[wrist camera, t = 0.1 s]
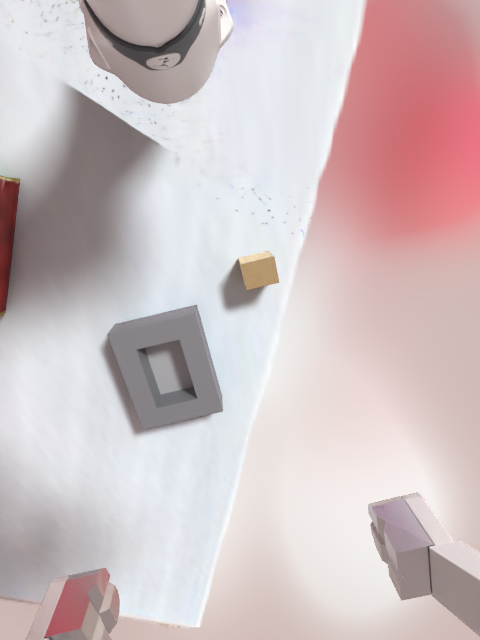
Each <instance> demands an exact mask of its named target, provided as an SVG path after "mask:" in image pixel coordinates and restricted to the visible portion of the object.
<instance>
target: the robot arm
mask: <svg viewBox="0 0 480 640" xmlns="http://www.w3.org/2000/svg"><path fill="white" fill-rule="evenodd" d="M79 4H80V8H81V11H82V12H83V13H84V18H85V25H86V33H87V40H88V47H89V54H90V57H91V59H92V61H93V62H94V64H95V65H97V66H98V67H99V68H101V69H103V70H105V71H108V72H110V73H112V74H115V75H116V76H117V77H118V78H119V79H120V80H121V81H122V82H123V83H124V84H125V85H126V86H127V87H128V88H129V89H131V90H132V91H133V92H134V93H136V94H137V95H139V96H140V97H142V98H144V99H146V100H149V101H152V102H156V103H163V104H170V103H176V102H180V101H183V100H185V99H187V98H189V97H191V96H192V95H194V94H195V93H196V92H198V91H199V90H200V89H201V88H202V86H203V85H204V84H205V83H206V81H207V80H208V78H209V76H210V74H211V72H212V70H213V67H214V64H215V60H216V57H217V54H218V52H219V50H220V48H221V47H222V46H223V45H224V43H225V42H226V41H227V40H228V38H229V37H230V35H231V33H232V30H233V24H232V19H231V16H230V13H229V10H228V7H227V5H226V2H225V0H79ZM220 13H222V14H223V16H222V17H221V18H220ZM368 510H369V514H370V517H371V519H372V521H373V522H372V523H371V530H372V535H373V538H374V542H375V545H376V547H377V549H378V552H379V554H380V556H381V559H382V560H383V561H384V562H386V563H387V564H388V568H389V575H390V578H391V580H392V582H393V584H394V586H395V588H396V590H397V592H398V594H399V596H400V598H401V600H406V599H411V598H416V597H421V596H425V595H431V594H432V596H433V597H434V598H435V599H436V600H438V601H439V602H440V603H441V604H442V605H444V606H445V607H446V608H447V609H448V610H450V611H451V612H452V613H453V614H454V615H455V616H457V617H458V618H459V619H460V620H461V621H462V622H463V623H465V624H466V625H467V626H468V627H469V628H471V629H472V630H473V631H474V632H475V633H476V634H478V635H479V636H480V552H479V551H477V550H475V549H474V548H472V547H470V546H469V545H467V544H465V543H463V542H461V541H460V540H456V541H453V539H452V538H451V536H450V535H449V534H448V532H447V531H446V529H445V528H444V527H443V525H442V524H441V523H440V521H439V520H438V519H437V517H436V516H435V514H434V513H433V511H432V510H431V509H430V507H429V506H428V504H427V503H426V502H425V500H424V499H423V498H422V496H421V495H420V494H418V493H413V494H409V495H405V496H401V497H395V498H391V499H387V500H383V501H379V502H375V503H372V504H369V506H368ZM109 577H110V575H109V573H108V571H107V569H106V568H103V569H98V570H93V571H88V572H84V573H79V574H74V575H70V576H65V577H61V578H56V579H54V580H53V581H52V582H51V584H50V585H49V587H48V589H47V592H46V594H45V596H44V599H43V601H42V603H41V606H40V608H39V610H38V612H37V615H36V617H35V619H34V622H33V624H32V627H31V629H30V631H29V633H28V636H27V638H26V640H112V639H111V637H110V634H109V633H110V632H111V631H112V629H113V628H114V626H115V625H116V624H117V620H118V615H119V595H118V591H117V589H116V587H115V585H113V584H111V583H109V582H108V581H109Z"/></svg>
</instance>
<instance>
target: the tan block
mask: <svg viewBox="0 0 480 640" xmlns="http://www.w3.org/2000/svg"><path fill="white" fill-rule="evenodd" d="M238 260H239V264H240V269H241V273H242V278H243V282H244V284H245V287H246V290H249V289H254V288H258V287H262V286H266V285H270V284H275V283H279V279H278V274H277V268H276V263H275V258H274V256H273V255H272V254H271V253H270V252H269V251H266V252H262V253H258V254H253V255H249V256H245V257H241V258H238Z"/></svg>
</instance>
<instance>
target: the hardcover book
mask: <svg viewBox="0 0 480 640" xmlns="http://www.w3.org/2000/svg"><path fill="white" fill-rule="evenodd" d="M19 185H20V179H16V178H8V177H3V176H0V316H1V315H3V314H4V313H5V312H6V303H7V294H8V285H9V276H10V266H11V257H12V248H13V239H14V230H15V221H16V212H17V203H18V194H19Z"/></svg>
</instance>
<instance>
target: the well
mask: <svg viewBox="0 0 480 640" xmlns="http://www.w3.org/2000/svg"><path fill="white" fill-rule="evenodd" d="M107 336H108V339H109V341H110V344H111V347H112V349H113V352H114V355H115V357H116V360H117V363H118V365H119V368H120V371H121V373H122V376H123V378H124V381H125V384H126V386H127V389H128V392H129V394H130V397H131V400H132V402H133V405H134V408H135V410H136V413H137V416H138V418H139V421H140V424H141V426H142V429H143V430H146V429H150V428H155V427H159V426H163V425H167V424H172V423H176V422H180V421H184V420H189V419H193V418H197V417H201V416H205V415H210V414H214V413H218V412H222V411H223V406H222V394H221V391H220V387H219V383H218V380H217V376H216V373H215V369H214V365H213V362H212V358H211V355H210V351H209V347H208V344H207V340H206V337H205V333H204V329H203V326H202V322H201V319H200V315H199V311H198V308H197V305H194V306H190V307H186V308H181V309H177V310H173V311H169V312H165V313H160V314H156V315H152V316H148V317H144V318H139V319H135V320H131V321H127V322H122V323H118V324H115V325H114V327H113V328H112V329H111V330H110V332H109V333H108V334H107Z"/></svg>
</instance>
